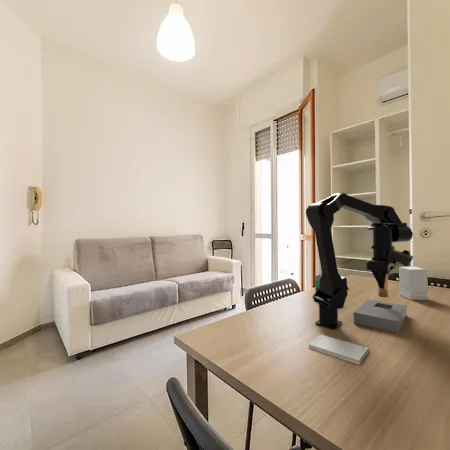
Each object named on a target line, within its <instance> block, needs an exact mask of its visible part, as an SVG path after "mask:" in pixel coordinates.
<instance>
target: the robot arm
mask: <svg viewBox="0 0 450 450" xmlns="http://www.w3.org/2000/svg"><path fill="white" fill-rule="evenodd" d="M341 208H342V209H344V210H347V211H351V212H353V213H356V214H359V215H362V216H363V217H365V219H366V220H368V221H370V222H371V223H372V224H370V225H369V226H368V227H367V230H369V231H372V245H371V249H372V255H373V256H372V257H371V260H369V261H368V262H367V263H366V264H365V266H366V267H365V268H366V270H368V271H369V270H370V271H371V273H372V275H373V277H374V279H375V281H376V283H377V286H378V285H379V287H380V288H381V289H384V285H385V280H386V275H387V273H388V277H389V276H390V272H391V271H392V270H394V269H395V268H396V266H397V265H398V264H400V265H402V266H403V267H410V265H411V263H412V261H413V259H414V256H413V255H411V251H410V250H407V249H404V250H403V251H400V250H396V249H395V246H394V245H393V243H402V242H403V243H406V242H409V241H411V240H412V238H413V236H414V235H413V234H414V233H413V230H412V229H411V228H410V226H408V223H407V222H402V221H401V219H400V217H399V215H398V214H397V212H396V210H395V208H394V207H393V206H390V205H385V204H373V203H370V202H367V201H365V200H361V199H359V198H356V197H355V196H351V195H348V194H347V193H344V192H338V193H333V194H332V195H330V196H329V197H327V198H325V199H322V200H320V201H318V202H316V203H311V204H309V205H308V206H307V208H306V209H305V216H306V219H307V222H308V224H309V226H310V227H311V228H312V230H313V231H314V235H315V241H316V245H317V252H318V260H319V264H320V270H321V274H322V275H321V278H320V281H319V289H318V290H317V292H316V291H315V293H314V294H313V295H312V299H313V302H314V303H316V304H318V319H317V321H315V322H314V325H317V326H322V327H324V328H328V329H333V330H336V329H337V328H338V327H340V325H342V323H343V321H341V320H339V310H340V309H343V308H344V307H345V303H346V299H347V297H348V295H349V294H348V291H349V290H350V288H349V287H348V279H347V276H346V277H345V276H341V275H340V273H339V270H338V263H337V260H336V259H337V258H336V253H335V248H334V247H335V246H334V241H333V235H332V226H333V225H334V221H335V214H336V213H337V212H339V211H340V210H341ZM392 264H394V265H393V266H392Z"/></svg>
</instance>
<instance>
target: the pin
mask: <svg viewBox="0 0 450 450" xmlns="http://www.w3.org/2000/svg"><path fill="white" fill-rule="evenodd" d="M377 295H378V297H381V298H388V297H389V276H388V273H387V275H386V280H385V285H384V289H381V288H380V287H379V285H378V284H377Z"/></svg>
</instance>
